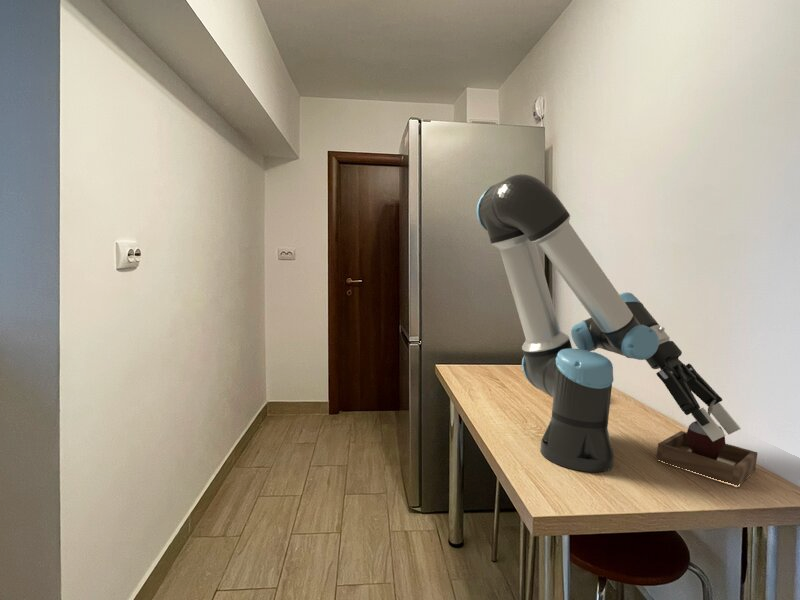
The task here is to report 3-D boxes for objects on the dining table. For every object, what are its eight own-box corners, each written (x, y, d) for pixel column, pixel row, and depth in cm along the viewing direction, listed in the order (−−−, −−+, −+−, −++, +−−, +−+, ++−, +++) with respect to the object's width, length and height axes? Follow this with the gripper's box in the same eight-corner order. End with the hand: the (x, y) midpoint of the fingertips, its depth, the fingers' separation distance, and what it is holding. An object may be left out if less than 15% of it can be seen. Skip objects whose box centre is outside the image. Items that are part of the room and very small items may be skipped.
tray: (737, 488, 89) (739, 469, 88) (656, 460, 100) (658, 443, 100) (755, 469, 98) (757, 452, 98) (679, 446, 110) (681, 430, 109)
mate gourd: (701, 452, 103) (708, 389, 102) (734, 467, 96) (742, 399, 95) (675, 454, 102) (682, 389, 101) (707, 469, 94) (714, 400, 93)
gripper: (648, 341, 99) (724, 435, 87) (688, 337, 112) (760, 419, 100) (622, 359, 104) (691, 451, 92) (664, 354, 116) (729, 434, 104)
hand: (727, 434), depth 96 cm, fingers open, 8 cm apart
